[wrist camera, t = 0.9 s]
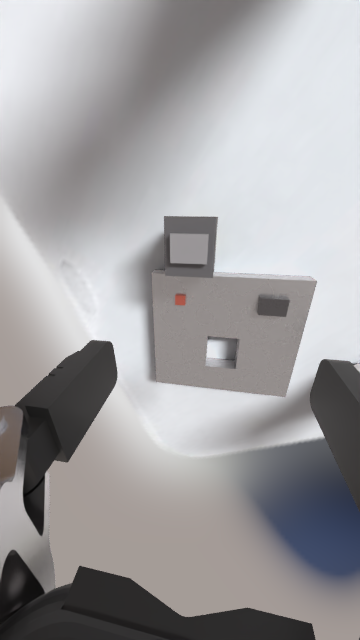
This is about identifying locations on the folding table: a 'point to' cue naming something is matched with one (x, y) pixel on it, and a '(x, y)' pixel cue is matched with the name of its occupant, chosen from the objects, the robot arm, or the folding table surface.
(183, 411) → the folding table surface
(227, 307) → the socket plate
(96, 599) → the robot arm
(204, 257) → the plug
